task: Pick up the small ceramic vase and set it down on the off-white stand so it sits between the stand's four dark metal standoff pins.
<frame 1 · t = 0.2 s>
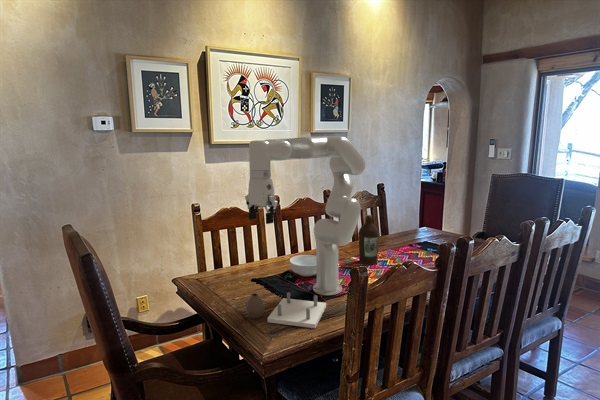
hand: (261, 221, 145), 36 cm above the table, tool pointing down, fingers open, 9 cm apart
vase: (255, 316, 149), on the table
stand: (298, 313, 150), on the table
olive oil: (368, 262, 207), on the table
cereal bowl: (306, 274, 192), on the table
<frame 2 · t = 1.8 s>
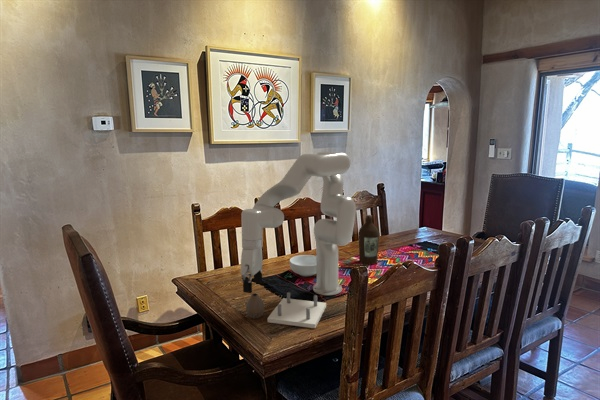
hand: (252, 287, 146), 12 cm above the table, tool pointing down, fingers open, 9 cm apart
nothing on the table moved.
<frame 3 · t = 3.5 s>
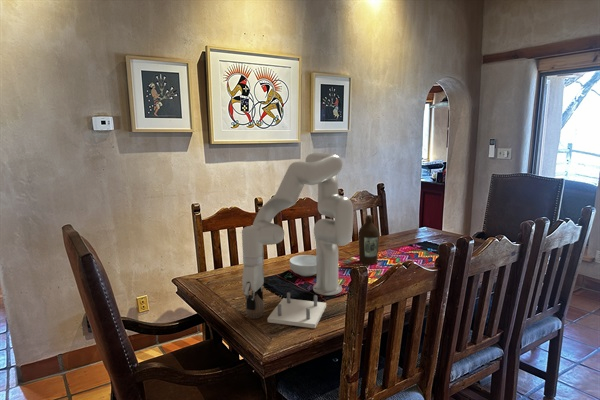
hand: (255, 304, 148), 5 cm above the table, tool pointing down, fingers closed on vase, 6 cm apart
vase: (255, 316, 149), on the table, touching gripper
everything else where it was.
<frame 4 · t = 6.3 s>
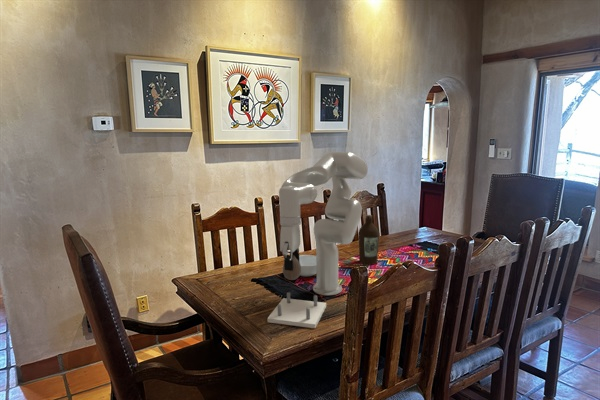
hand: (292, 266, 147), 19 cm above the table, tool pointing down, fingers closed on vase, 6 cm apart
vase: (292, 278, 148), point 14 cm above the table, touching gripper
everything else where it was.
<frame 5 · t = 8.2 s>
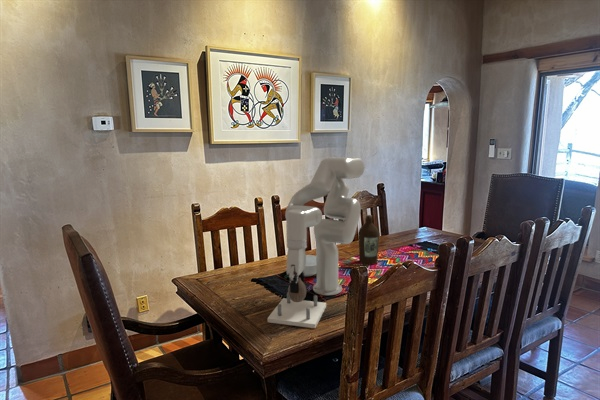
hand: (297, 288, 148), 10 cm above the table, tool pointing down, fingers closed on vase, 6 cm apart
vase: (297, 300, 149), point 5 cm above the table, touching gripper
everything else where it was.
when the fingers open (8 cm above the table, at t = 9.6 s): vase drops 2 cm, resting on stand.
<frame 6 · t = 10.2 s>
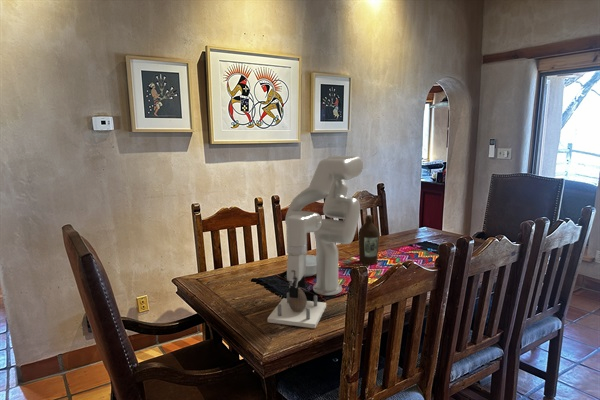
hand: (297, 292, 149), 9 cm above the table, tool pointing down, fingers open, 9 cm apart
vase: (297, 310, 150), point 1 cm above the table, touching stand
everything else where it was.
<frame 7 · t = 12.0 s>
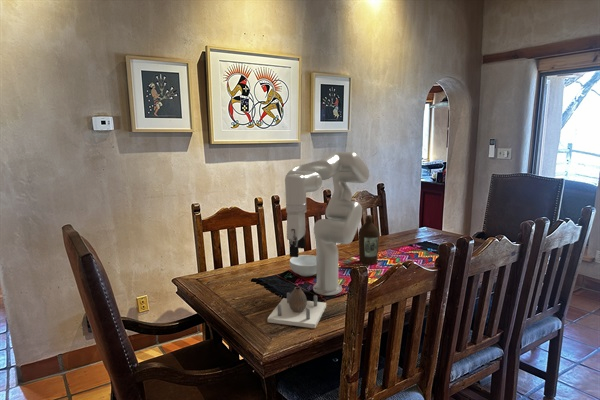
hand: (297, 252, 148), 24 cm above the table, tool pointing down, fingers open, 9 cm apart
nothing on the table moved.
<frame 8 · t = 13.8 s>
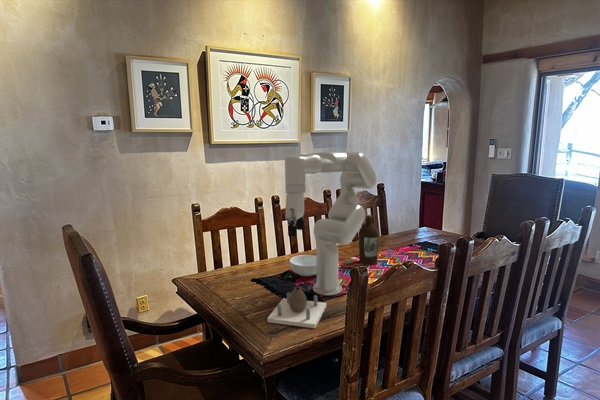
hand: (296, 232, 151), 30 cm above the table, tool pointing down, fingers open, 9 cm apart
nothing on the table moved.
at the end: vase 0.2 cm off-centre on the stand, point 1.3 cm above the stand's base; vase tilted 0°; the gripper is holding nothing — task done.
